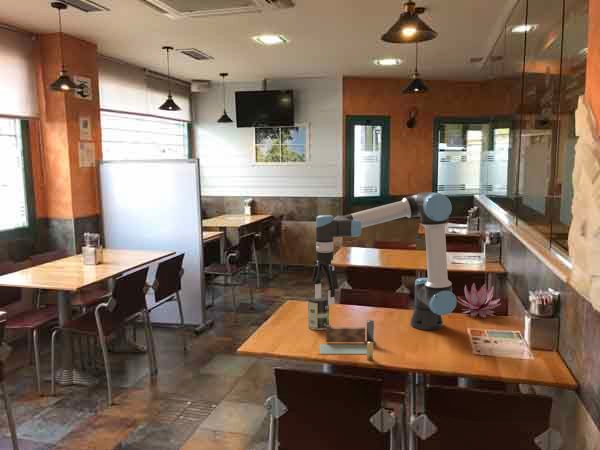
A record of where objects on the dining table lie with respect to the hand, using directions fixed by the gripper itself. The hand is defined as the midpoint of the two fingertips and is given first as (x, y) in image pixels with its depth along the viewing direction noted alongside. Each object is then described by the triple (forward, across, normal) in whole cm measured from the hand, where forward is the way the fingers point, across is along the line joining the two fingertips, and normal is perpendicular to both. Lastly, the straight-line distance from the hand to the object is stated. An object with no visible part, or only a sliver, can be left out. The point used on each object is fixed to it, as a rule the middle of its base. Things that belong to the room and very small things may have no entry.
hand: (324, 301), depth 207 cm
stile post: (+18, +27, +4) cm, 32 cm away
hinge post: (+18, +13, +15) cm, 27 cm away
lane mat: (+18, +13, +1) cm, 22 cm away
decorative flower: (+18, +10, +87) cm, 89 cm away
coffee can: (+18, -17, +7) cm, 26 cm away
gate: (+17, +8, +6) cm, 19 cm away
